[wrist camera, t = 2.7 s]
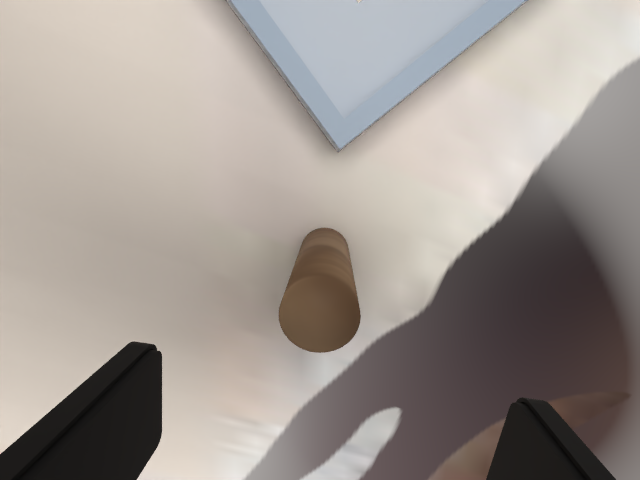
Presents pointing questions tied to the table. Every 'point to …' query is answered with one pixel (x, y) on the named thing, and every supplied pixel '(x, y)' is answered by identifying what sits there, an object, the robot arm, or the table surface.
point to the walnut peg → (321, 295)
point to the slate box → (363, 50)
